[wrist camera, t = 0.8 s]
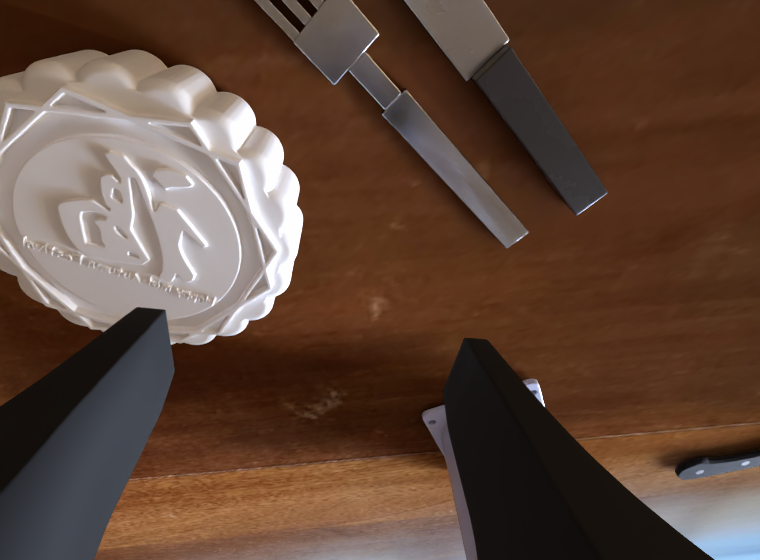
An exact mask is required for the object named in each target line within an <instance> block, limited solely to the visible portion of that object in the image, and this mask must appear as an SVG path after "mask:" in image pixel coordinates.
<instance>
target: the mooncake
mask: <svg viewBox="0 0 760 560" xmlns="http://www.w3.org/2000/svg"><path fill="white" fill-rule="evenodd" d="M283 158H284V153H283V148H282V145H281V143H280V141H279V139H278V138H277V137H276V136H275V135H274V134H273V133H272V132H271V131H269V130H267V129H265V128H263V127H259V126H256V120H255V116H254V113H253V111H252V109H251V107H250V106H249V105H248V104H247V103H246V102H245V101H244V100H243V99H242V98H241V97H239V96H237V95H235V94H233V93H229V92H217V91H216V88H215V86H214V84H213V83H212V81H211V80H210V79H209V78H208V77H207V76H206V75H205V74H204V73H203V72H202V71H200V70H198V69H197V68H194V67H192V66H188V65H175V66H172V67H170V68H167V67H166V65H165V64H164V63H163V62H162V61H161V60H160V59H158V58H157V57H156V56H154V55H152V54H150V53H148V52H146V51H142V50H127V51H124V52H120V53H117V54H113V55H107V54H105V53H103V52H100V51H96V50H82V51H77V52H73V53H69V54H64V55H60V56H56V57H51V58H47V59H43V60H39V61H36V62H34V63H32V64H31V65H30V66H29V67H28V68H27V69H26V70H25V71H23V72H19V73H15V74H11V75H7V76H3V77H0V269H1V270H2V271H4V272H6V273H9V274H11V275H15V276H17V277H18V283H19V285H20V287H21V289H22V290H23V291H24V292H25V294H27V295H28V296H29V297H31V298H32V299H34V300H36V301H38V302H40V303H43V304H44V305H45V306H46V307H50V308H54V309H57V310H58V311H59V313H60V314H61V315H62V316H63V317H64V318H66V319H67V320H68V321H70V322H72V323H75V324H77V325H81V326H87V327H89V328H90V329H93V330H101V331H102V332H104V331H106V330H107V329H108V328H110V327H111V326H112V325H114V324H115V323H116V322H117V321H119V320H120V319H121V318H123V317H124V316H125V315H127V314H128V313H129V312H131V311H132V310H134V309H135V308H136V307H143V308H153V309H164V310H166V316H167V323H168V330H169V336H170V343H171V345H173V344H175V343H180V344H181V343H183V342H184V343H187V344H192V345H201V344H205V343H208V342H210V341H211V340H213V339H214V338H215V336H216V335H221V336H232V335H236V334H238V333H240V332H242V331H243V330H244V329H245V328H246V326H247V324H248V321H249V320H257V319H260V318H262V317H264V316H266V315H267V314H268V313H269V312H270V311H271V309H272V307H273V303H274V299H275V296H278V295H280V294H281V293H283V292H284V291H285V290H286V289H287V287H288V286H289V283H290V280H291V274H292V269H293V264H294V259H295V257H296V255H297V252H298V246H299V241H300V236H301V230H302V225H303V216H302V213H301V210H300V209H299V207H298V206H297V205H296V203H297V199H298V194H299V182H298V180H297V177H296V176H295V174H294V173H293V172H292V170H290V169H289V168H288V167H286V166H285V165H283V164H282V163H283Z"/></svg>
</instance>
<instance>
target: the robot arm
mask: <svg viewBox="0 0 760 560" xmlns="http://www.w3.org/2000/svg"><path fill="white" fill-rule="evenodd" d="M174 372H175V369H174V362H173V356H172V349H171V343H170V336H169V330H168V323H167V316H166V310H164V309H153V308H143V307H136V308H135V309H134V310H132V311H131V312H129V313H128V314H127V315H125V316H124V317H123V318H121V319H120V320H119V321H117V322H116V323H115V324H114V325H112V326H111V327H110V328H108V329H107V330H106V331H104V332H103V333H102V334H101V335H99V336H98V337H97V338H95V339H94V340H93V341H91V342H90V343H89V344H87V345H86V346H85V347H84V348H82V349H81V350H80V351H78V352H77V353H76V354H74V355H73V356H71V357H70V358H69V359H67V360H66V361H65V362H63V363H62V364H61V365H59V366H58V367H57V368H55V369H54V370H52V371H51V372H50V373H48V374H47V375H46V376H44V377H43V378H41V379H40V380H39V381H37V382H36V383H34V384H33V385H31V386H30V387H28V388H27V389H25V390H24V391H23V392H21V393H20V394H18V395H17V396H15V397H14V398H12V399H11V400H9V401H8V402H6V403H5V404H3V405H2V406H1V407H0V560H94V558H95V555H96V552H97V550H98V547H99V544H100V542H101V539H102V536H103V534H104V531H105V529H106V527H107V524H108V522H109V520H110V518H111V515H112V513H113V511H114V508H115V506H116V504H117V502H118V500H119V498H120V496H121V494H122V492H123V490H124V488H125V486H126V484H127V482H128V480H129V478H130V475H131V473H132V471H133V469H134V467H135V465H136V463H137V461H138V459H139V457H140V455H141V453H142V451H143V449H144V447H145V445H146V442H147V440H148V438H149V436H150V434H151V432H152V430H153V428H154V426H155V424H156V422H157V419H158V417H159V415H160V413H161V410H162V408H163V405H164V402H165V399H166V396H167V393H168V390H169V387H170V384H171V381H172V378H173V375H174ZM443 395H444V404H445V405H442V406H438V407H435V408H432V409H429V410H426V411H424V412H423V413H422V418H423V421H424V423H425V424H426V426H427V428H428V430H429V431H430V433H431V435H432V436H433V438H434V440H435V442H436V443H437V445H438V447H439V449H440V450H441V452H442V454H443V455H444V457H445V459H446V464H447V468H448V473H449V478H450V483H451V487H452V492H453V497H454V502H455V506H456V511H457V516H458V521H459V525H460V530H461V535H462V540H463V545H464V549H465V554H466V559H467V560H714V559H713V558H712V557H710V556H709V555H707V554H706V553H705V552H703V551H702V550H701V549H700V548H698V547H697V546H696V545H694V544H693V543H692V542H691V541H689V540H688V539H687V538H685V537H684V536H683V535H682V534H680V533H679V532H678V531H677V530H675V529H674V528H673V527H672V526H670V525H669V524H668V523H667V522H666V521H664V520H663V519H662V518H661V517H660V516H658V515H657V514H656V513H655V512H653V511H652V510H651V509H650V508H649V507H647V506H646V505H645V504H644V503H643V502H641V501H640V500H639V499H638V498H637V497H636V496H635V495H633V494H632V493H631V492H630V491H629V490H628V489H627V488H625V487H624V486H623V485H622V484H621V483H620V482H619V481H618V480H617V479H616V478H615V477H613V476H612V475H611V474H610V473H609V472H608V471H607V470H606V469H605V468H604V467H603V466H602V465H600V464H599V463H598V462H597V461H596V460H595V459H594V458H593V457H592V456H591V455H590V454H589V453H588V452H587V451H586V450H585V449H584V448H583V447H582V446H581V445H580V444H579V443H578V442H577V441H576V440H575V439H574V438H573V437H572V436H571V435H570V434H569V433H568V432H567V431H566V429H565V428H564V427H563V426H562V425H561V424H560V423H559V422H558V421H557V420H556V419H555V418H554V417H553V416H552V414H551V413H550V412H549V411H548V410H547V409H546V408H545V405H544V402H543V398H542V394H541V390H540V386H539V384H538V382H537V380H535V379H527V380H524V381H522V380H521V379H520V378H519V377H518V375H517V374H516V373H515V372H514V371H513V370H512V368H511V367H510V366H509V365H508V364H507V362H506V361H505V360H504V359H503V358H502V356H501V355H500V354H499V353H498V352H497V350H496V349H495V348H494V347H493V346H492V345H491V344H490V342H489V341H488V340H485V339H474V338H464V340H463V343H462V345H461V348H460V350H459V352H458V355H457V357H456V360H455V362H454V365H453V367H452V369H451V372H450V374H449V377H448V379H447V382H446V384H445V386H444V389H443Z"/></svg>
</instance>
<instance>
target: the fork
mask: <svg viewBox="0 0 760 560" xmlns="http://www.w3.org/2000/svg"><path fill="white" fill-rule="evenodd" d="M254 1H255V2H256V3H257V4H258V5H259V6H260V7H261V8H262V9H263V10H264V11H265V12H266V13H267V14H268V15H269V16H270V17H271V18H272V19H273V21H274V22H275V23H276V24H277V25H278V26H279V27H280V28H281V29H282V30H283V31H284V32H285V33H286V34H287V35H288V36H289V37H290V38H291V39H292V40H293V43H294V44H295V45H296V46H297V47H298V48H299V49H300V50H301V51H302V53H303V54H304V55H305V56H306V57H307V58H308V59H309V60H310V61H311V62H312V63H313V64H314V65H315V66H316V67H317V68H318V69H319V70H320V71H321V72H322V73H323V74H324V75H325V76H326V77H327V79H328V80H329V81H330V82H331V83H332V84H333V85H335V84H336V83H337V82H338V81H339V80H340V79H341V78H342V77H343V75H344V74H345V73H346V72H347V71H348V70H349V72H350V73H351V74H352V75H353V76H354V77H355V78H356V79H357V80H358V82H359V83H360V84H361V85H362V86H363V87H364V88H365V89H366V90H367V91H368V92H369V94H370V95H371V96H372V97H373V98H374V99H375V100H376V101H377V102H378V103H379V104H380V105H381V107H382V108H383V109H384V110H383V111H382V112H381V113H382V115H383V116H384V117H385V119H386V120H387V121H388V122H389V123H390V124H391V125H392V126H393V127H394V128H395V129H396V130H397V131H398V133H399V134H400V135H401V136H402V137H403V138H404V139H405V140H406V141H407V142H408V143H409V144H410V145H411V146H412V148H413V149H414V150H415V151H416V152H417V153H418V154H419V155H420V156H421V157H422V158H423V159H424V160H425V162H426V163H427V164H428V165H429V166H430V167H431V168H432V169H433V170H434V171H435V172H436V173H437V174H438V175H439V177H440V178H441V179H442V180H443V181H444V182H445V183H446V184H447V185H448V186H449V187H450V188H451V189H452V190H453V192H454V193H455V194H456V195H457V196H458V197H459V198H460V199H461V200H462V201H463V202H464V203H465V204H466V206H467V207H468V208H469V209H470V210H471V211H472V212H473V213H474V214H475V215H476V216H477V217H478V218H479V219H480V221H481V222H482V223H483V224H484V225H485V226H486V227H487V228H488V229H489V230H490V231H491V232H492V233H493V235H494V236H495V237H496V238H497V239H498V240H499V241H500V242H501V243H502V244H503V245H504V246H505V247H506V248H509V247H510V246H511V245H513V244H514V243H515V242H517V241H518V240H519V239H521V238H522V237H523V236H525V235H526V234H527V233H528V230H527V229H526V228H525V226H524V225H523V224H522V223H521V222H520V221H519V220H518V218H517V217H516V216H515V215H514V214H513V213H512V211H511V210H510V209H509V208H508V207H507V206H506V204H505V203H504V202H503V201H502V200H501V199H500V197H499V196H498V195H497V194H496V193H495V192H494V190H493V189H492V188H491V187H490V186H489V185H488V184H487V182H486V181H485V180H484V179H483V178H482V177H481V175H480V174H479V173H478V172H477V171H476V170H475V168H474V167H473V166H472V165H471V164H470V163H469V161H468V160H467V159H466V158H465V157H464V156H463V154H462V153H461V152H460V151H459V150H458V149H457V148H456V146H455V145H454V144H453V143H452V142H451V141H450V139H449V138H448V137H447V136H446V135H445V134H444V132H443V131H442V130H441V129H440V128H439V127H438V125H437V124H436V123H435V122H434V121H433V120H432V118H431V117H430V116H429V115H428V114H427V113H426V112H425V110H424V109H423V108H422V107H421V106H420V105H419V103H418V102H417V101H416V100H415V99H414V98H413V96H412V95H411V94H410V93H409V92H408V91H407V89H406V88H404V89H403V90H402V91H400V90H399V88H398V87H397V86H396V85H395V84H394V83H393V82H392V80H391V79H390V78H389V77H388V76H387V75H386V74H385V72H384V71H383V70H382V69H381V68H380V67H379V66H378V64H377V63H376V62H375V61H374V60H373V59H372V58H371V56H370V55H369V54H368V53H367V52H366V51H365V50H366V49H367V48H368V47H369V46H370V45H371V44H372V42H373V41H374V40H375V39H376V38H377V37H378V36H379V32H378V31H377V30H376V29H375V27H374V26H373V25H372V24H371V23H370V21H369V20H368V19H367V18H366V17H365V15H364V14H363V13H362V12H361V11H360V9H359V8H358V7H357V6H356V5H355V3H354V2H353V1H352V0H325V2H324V0H309V1H310V2H311V3H312V4H313V6H314V7H315V8H316V9H317V12H316V13H315V14H314V16H313V17H312V16H311V15H310V14H309V13H308V12H307V11H306V9H305V8H304V7H303V6H302V5H301V4H300V3H299V2H298V1H297V0H282V1H283V2H284V3H285V5H286V6H287V7H288V8H289V9H290V10H291V11H292V12H293V13H294V14H295V15H296V16H297V18H298V19H299V20H300V21H301V22H302V23H303V24H304V25H306V26H305V27H304V28H303V29H302V31H301V32H300V31H299V30H298V29H297V28H296V27H295V26H294V25H293V24H292V23H291V22H290V21H289V20H288V19H287V18H286V17H285V15H284V14H283V13H282V12H281V11H280V10H279V9H278V8H277V7H276V6H275V5H274V4H273V3H272V2H271V1H270V0H254Z"/></svg>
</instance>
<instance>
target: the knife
mask: <svg viewBox="0 0 760 560" xmlns="http://www.w3.org/2000/svg"><path fill="white" fill-rule="evenodd" d="M404 1H405V2H406V4H407V5H408V6H409V8H410V9H411V10H412V12H413V13H414V14H415V15H416V17H417V18H418V19H419V21H420V22H421V23H422V25H423V26H424V27H425V29H426V30H427V31H428V32H429V34H430V35H431V36H432V38H433V39H434V40H435V42H436V43H437V44H438V45H439V47H440V48H441V49H442V51H443V52H444V53H445V55H446V56H447V57H448V59H449V60H450V61H451V62H452V64H453V65H454V66H455V68H456V69H457V70H458V72H459V73H460V74H461V76H462V77H463V78H464V79H465V81H468V80H469V79H470V78H471V79H472V81H473V82H474V83H475V84H476V86H477V87H478V88H479V90H480V91H481V92H482V94H483V95H484V96H485V98H486V99H487V100H488V102H489V103H490V104H491V106H492V107H493V108H494V110H495V111H496V112H497V114H498V115H499V116H500V118H501V119H502V120H503V122H504V123H505V124H506V126H507V127H508V128H509V130H510V131H511V132H512V134H513V135H514V136H515V137H516V139H517V140H518V141H519V143H520V144H521V145H522V147H523V148H524V149H525V151H526V152H527V153H528V155H529V156H530V157H531V159H532V160H533V161H534V163H535V164H536V165H537V167H538V168H539V169H540V171H541V172H542V173H543V175H544V176H545V177H546V179H547V180H548V181H549V183H550V184H551V185H552V187H553V188H554V189H555V191H556V192H557V193H558V194H559V196H560V197H561V198H562V200H563V201H564V202H565V204H566V205H567V206H568V208H569V209H570V210H571V211H572V212H573V213H574V214H575V215H578V214H580V213H581V212H582V211H584V210H585V209H586V208H588V207H589V206H591V205H592V204H593V203H595V202H596V201H597V200H599V199H600V198H602V197H603V196H604V195H606V194H607V193H608V192H607V190H606V188H605V187H604V185H603V184H602V182H601V181H600V179H599V178H598V176H597V175H596V173H595V172H594V170H593V169H592V167H591V166H590V164H589V163H588V161H587V160H586V158H585V157H584V155H583V154H582V152H581V151H580V149H579V148H578V146H577V145H576V143H575V142H574V140H573V139H572V137H571V136H570V134H569V133H568V131H567V130H566V128H565V127H564V125H563V124H562V122H561V121H560V119H559V118H558V116H557V115H556V113H555V112H554V110H553V109H552V107H551V106H550V104H549V103H548V101H547V100H546V98H545V97H544V95H543V94H542V92H541V91H540V89H539V88H538V86H537V85H536V83H535V82H534V80H533V79H532V77H531V76H530V74H529V73H528V71H527V70H526V68H525V67H524V65H523V64H522V62H521V61H520V59H519V58H518V56H517V55H516V53H515V52H514V50H513V49H512V48H511V47H509V46H506V45H505V44H506V43H507V42H508V41H509V38H508V36H507V35H506V33H505V32H504V30H503V29H502V27H501V26H500V24H499V23H498V21H497V20H496V18H495V17H494V15H493V14H492V12H491V11H490V9H489V8H488V6H487V5H486V3H485V2H484V0H404Z"/></svg>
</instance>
